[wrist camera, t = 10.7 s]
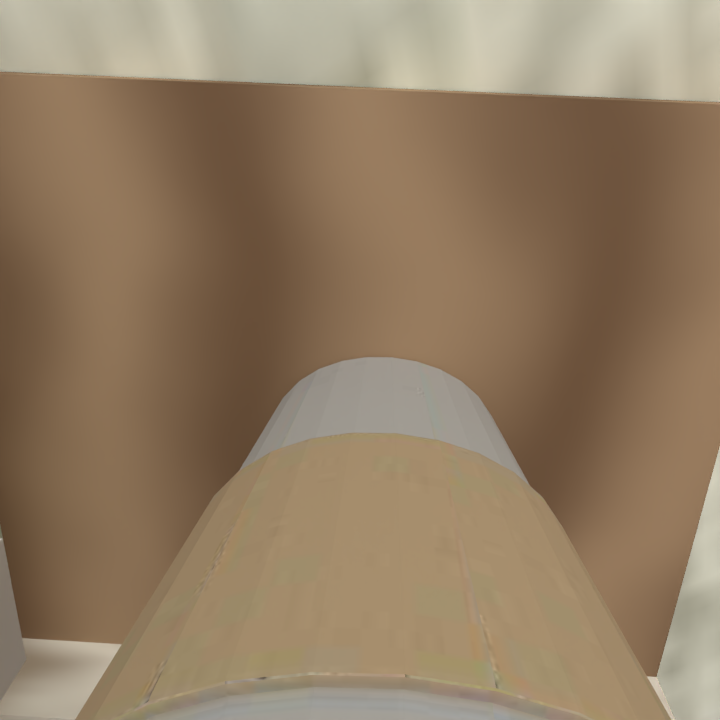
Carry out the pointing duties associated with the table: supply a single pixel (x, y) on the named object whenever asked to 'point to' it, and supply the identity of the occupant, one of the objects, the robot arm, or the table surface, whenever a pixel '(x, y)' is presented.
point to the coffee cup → (376, 577)
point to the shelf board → (340, 319)
